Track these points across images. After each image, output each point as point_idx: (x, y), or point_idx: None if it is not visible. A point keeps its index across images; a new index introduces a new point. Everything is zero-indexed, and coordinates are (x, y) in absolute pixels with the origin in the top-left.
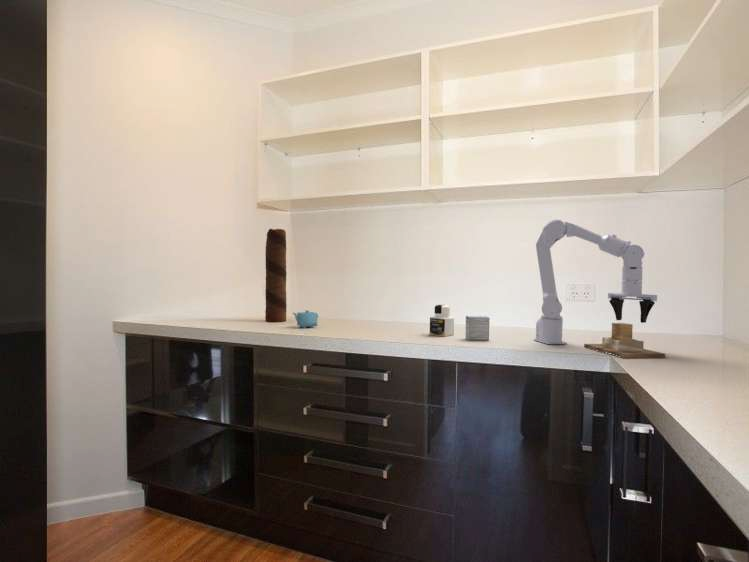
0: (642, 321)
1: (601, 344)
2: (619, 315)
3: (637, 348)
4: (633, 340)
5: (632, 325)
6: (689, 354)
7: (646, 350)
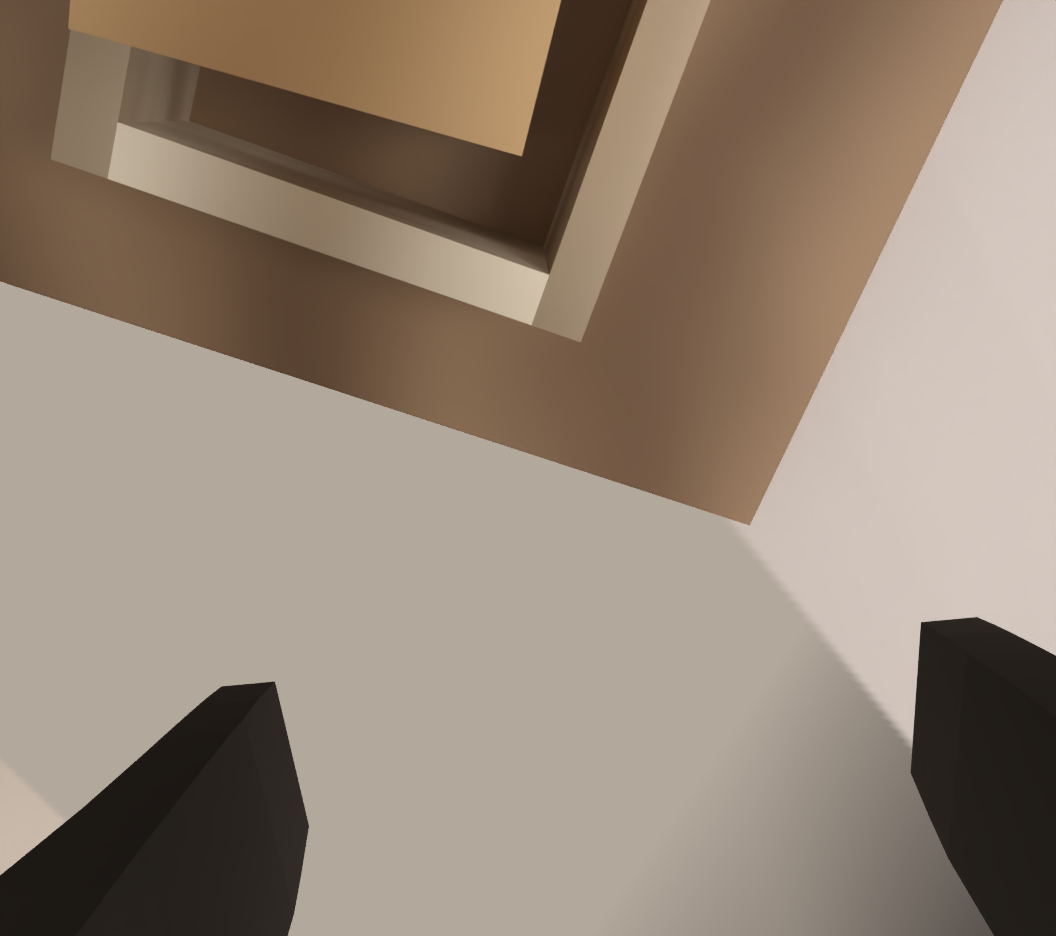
0: (208, 698)
1: (885, 60)
2: (996, 782)
3: None
4: (285, 176)
5: (85, 28)
6: (14, 796)
7: (142, 243)
